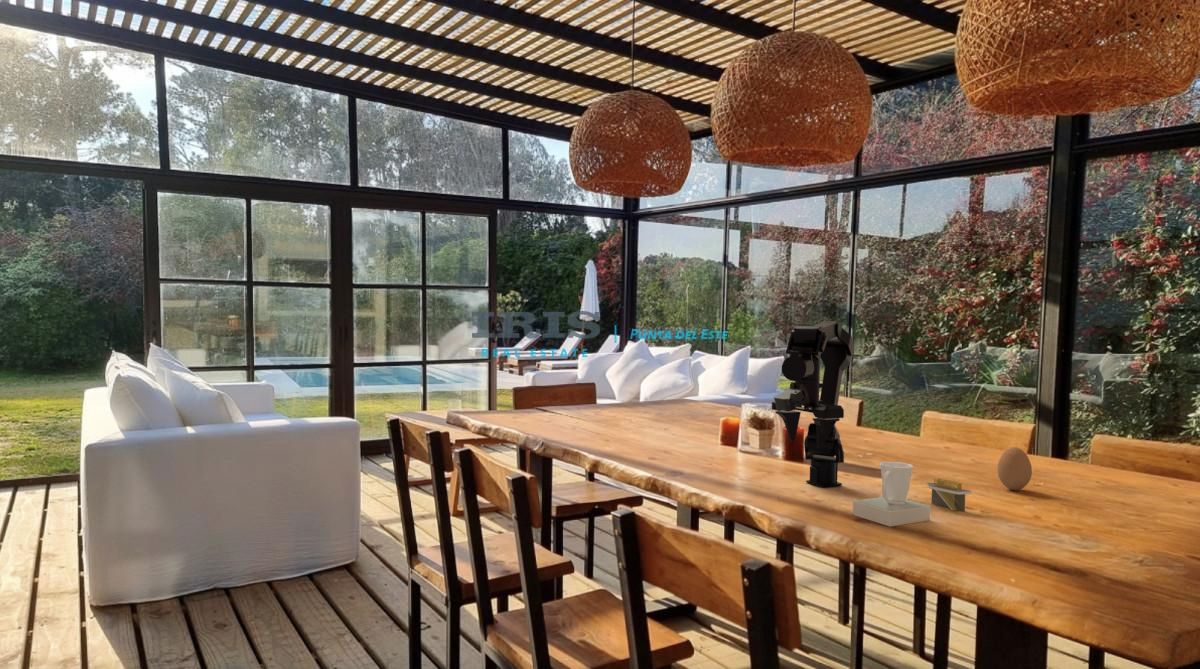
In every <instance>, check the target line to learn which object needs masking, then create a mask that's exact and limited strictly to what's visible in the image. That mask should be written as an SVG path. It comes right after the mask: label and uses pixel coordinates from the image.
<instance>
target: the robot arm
mask: <svg viewBox="0 0 1200 669" xmlns="http://www.w3.org/2000/svg"><path fill="white" fill-rule="evenodd" d="M785 354H786V355H789V356H787V357H786V358H785V359H784V360H783V362H782V364H781V372H782V375H783V376H784V378H786V379H787V380H788V381H792V382H790V384H789V389H787V390H784V391H782V392H780V393H778V394H775V395H774V396H773V400H772V401H771V410H773V411H774V412H775V414H776V415H778V416H779V417H780V418H781V419H782V420H783V423H784V427H785V429H786V432H787V435H788V439H789V441H790V442H795V440H796V436H797V433H798V429H799V428H798V427H799V423H800V422H799V421H800V418H801V413H802V412H805V413H810V414H811V413H812V414H813V416H814V417H813V418H811V419H812V420H813V423H812V422H811V423H809V425H808V427H807V435H806V436H805V438H804V444H803V445H804V454H805V460H810V466H809V479H808V480H807V479H806V481H805V482H806V483H807V484H811V485H814V486H817V487H821V488H828V487H829V488H830V487H837V486H842V483H841V482H839V481H838V468H839V467H838V466H839V465H838V464H840V463H841V464H842V463H845V451H844V448H843V443H842V441H841V435H840V433H839V431H838V428H837V426H836V423H837V422H840V419H844V418H845V417H844V416H845V415H844V414H845V410H844V407H842V405H839V399H840V391H841V386H842V384H841V383H842V378H843V377H842V376H843V373H844V371H845V370H846V369H847V368H848V367H849V366H850V365H851V362H852V357H853V356H854V354H855V344H854V341H853V337H852V335H851V334H850V333H849V332H848V331H846V330H845V329H844V328H843V326H842V323H841V322H838V321H834V320H833V321H831V320H830V321H827V320H823V321H820V322H819V323H818V324H815V325H795V326H794V327H793V330H791V332H790V335H789V339H788V342H787V346H786V350H785ZM821 362H822V364H823V366H824V370H823V375H822V376H823V377H822V382H821V381H820V378H821ZM820 389H821V390H820Z"/></svg>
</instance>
